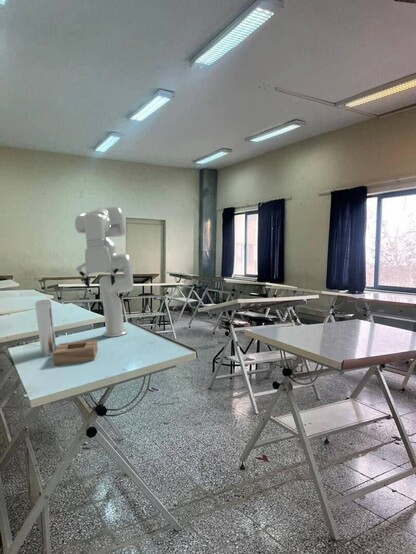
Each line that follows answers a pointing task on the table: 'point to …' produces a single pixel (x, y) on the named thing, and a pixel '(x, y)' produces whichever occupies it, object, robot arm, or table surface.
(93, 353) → the socket block
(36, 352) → the table surface
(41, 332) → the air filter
